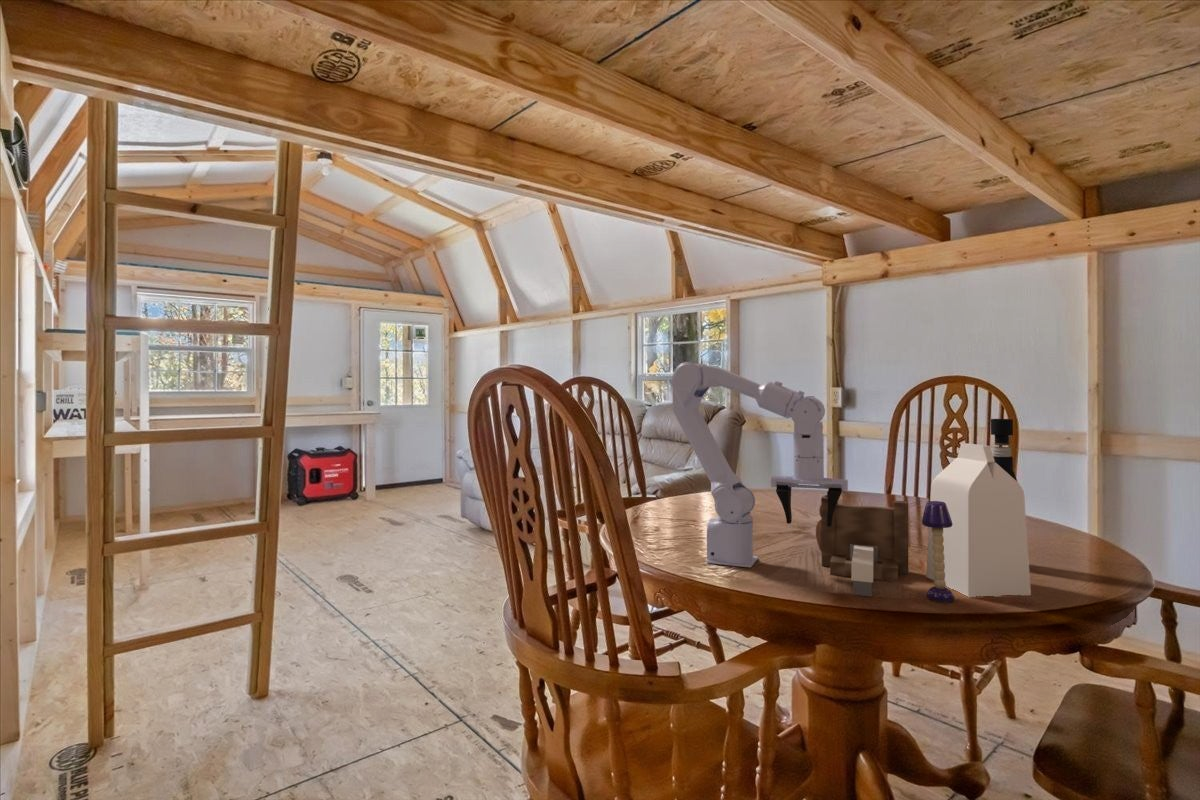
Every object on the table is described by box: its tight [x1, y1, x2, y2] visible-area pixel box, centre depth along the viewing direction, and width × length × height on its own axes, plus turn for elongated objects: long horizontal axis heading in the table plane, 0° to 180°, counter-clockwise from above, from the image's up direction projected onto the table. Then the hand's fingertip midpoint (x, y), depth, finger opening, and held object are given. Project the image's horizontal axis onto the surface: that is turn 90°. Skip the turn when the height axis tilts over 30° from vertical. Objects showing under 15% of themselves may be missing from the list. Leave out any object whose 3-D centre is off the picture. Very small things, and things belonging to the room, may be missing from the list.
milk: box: [925, 442, 1032, 598], centre depth 112 cm, size 12×12×26 cm
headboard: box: [820, 496, 909, 582], centre depth 120 cm, size 16×8×14 cm, turn 65°
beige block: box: [850, 544, 878, 598], centre depth 113 cm, size 5×15×6 cm, turn 155°
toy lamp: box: [921, 501, 955, 603], centre depth 105 cm, size 5×5×17 cm
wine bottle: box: [990, 418, 1018, 482], centre depth 125 cm, size 6×6×30 cm
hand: (809, 524), depth 122 cm, fingers open, 7 cm apart
